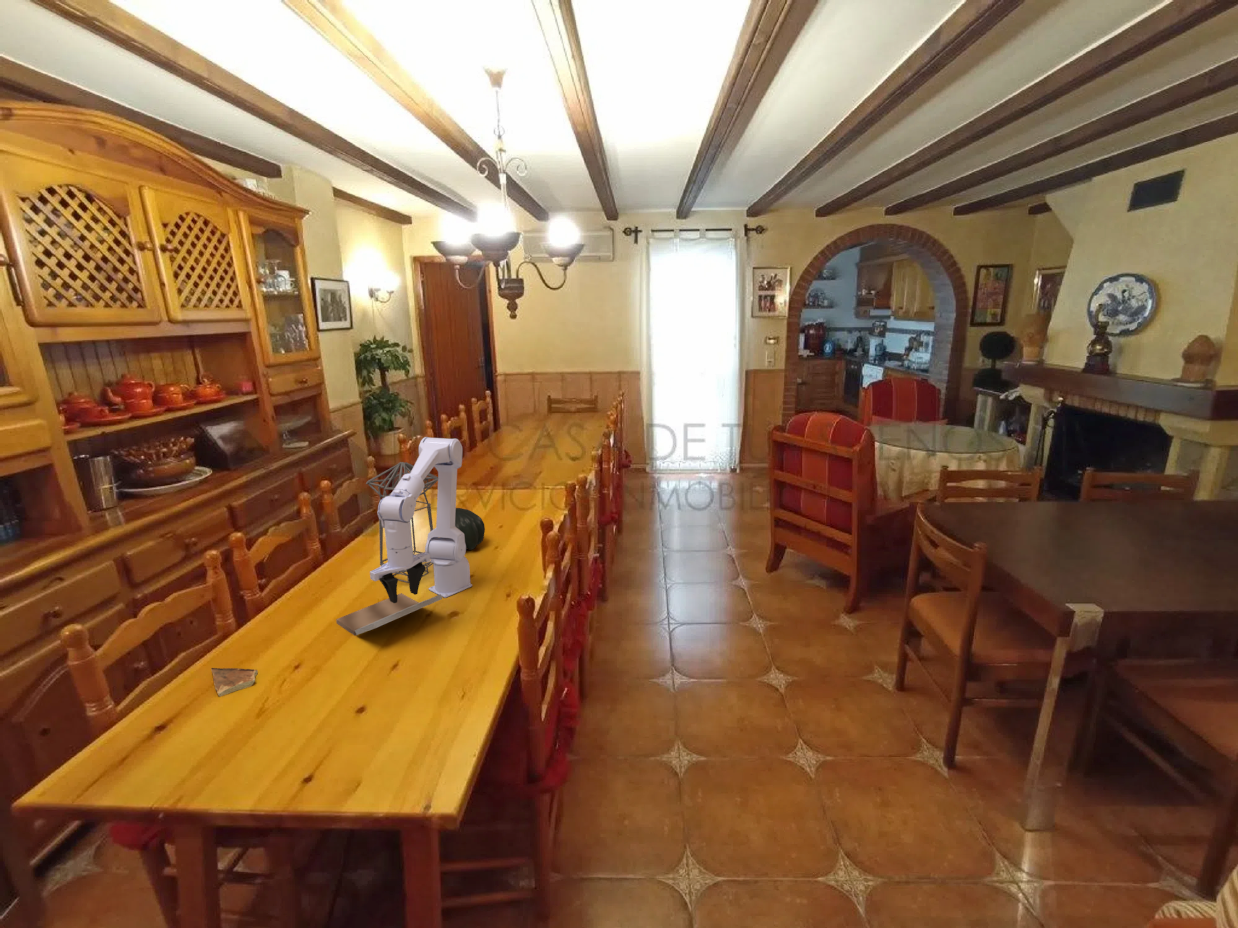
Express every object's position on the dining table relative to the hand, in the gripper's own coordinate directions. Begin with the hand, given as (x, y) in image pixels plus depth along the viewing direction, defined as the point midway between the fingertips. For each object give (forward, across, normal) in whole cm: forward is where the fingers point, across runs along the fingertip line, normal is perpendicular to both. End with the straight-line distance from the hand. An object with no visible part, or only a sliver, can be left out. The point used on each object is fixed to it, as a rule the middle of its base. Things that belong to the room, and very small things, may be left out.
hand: (403, 597), depth 135 cm
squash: (+10, -42, -33) cm, 54 cm away
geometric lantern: (+10, -19, -28) cm, 35 cm away
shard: (+10, +35, -11) cm, 38 cm away
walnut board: (+9, 0, -12) cm, 16 cm away
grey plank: (+6, 0, -2) cm, 6 cm away
